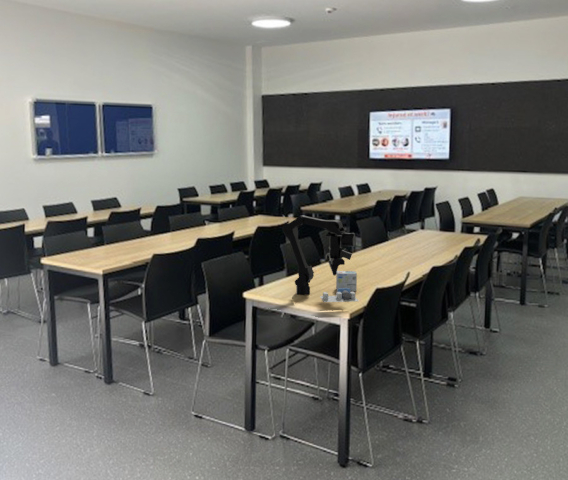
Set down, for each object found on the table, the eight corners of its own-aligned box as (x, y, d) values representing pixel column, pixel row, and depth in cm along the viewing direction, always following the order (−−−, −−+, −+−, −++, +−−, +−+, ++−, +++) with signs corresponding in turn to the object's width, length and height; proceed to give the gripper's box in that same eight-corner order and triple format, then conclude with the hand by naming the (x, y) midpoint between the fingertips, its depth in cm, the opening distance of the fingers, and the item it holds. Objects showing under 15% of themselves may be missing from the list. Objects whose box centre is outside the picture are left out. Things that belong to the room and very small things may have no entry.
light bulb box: (354, 289, 328) (355, 270, 327) (356, 292, 322) (357, 273, 320) (335, 289, 328) (335, 270, 326) (337, 292, 321) (337, 273, 320)
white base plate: (323, 303, 298) (323, 294, 298) (319, 297, 310) (319, 288, 309) (359, 303, 300) (359, 293, 300) (353, 297, 312) (353, 287, 311)
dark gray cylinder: (350, 300, 303) (351, 293, 302) (343, 299, 302) (344, 292, 302) (347, 297, 309) (348, 290, 308) (341, 296, 308) (342, 290, 308)
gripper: (355, 248, 295) (354, 279, 298) (346, 242, 314) (345, 271, 316) (332, 248, 294) (332, 279, 296) (325, 242, 312) (325, 271, 315)
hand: (334, 275), depth 306 cm, fingers closed
